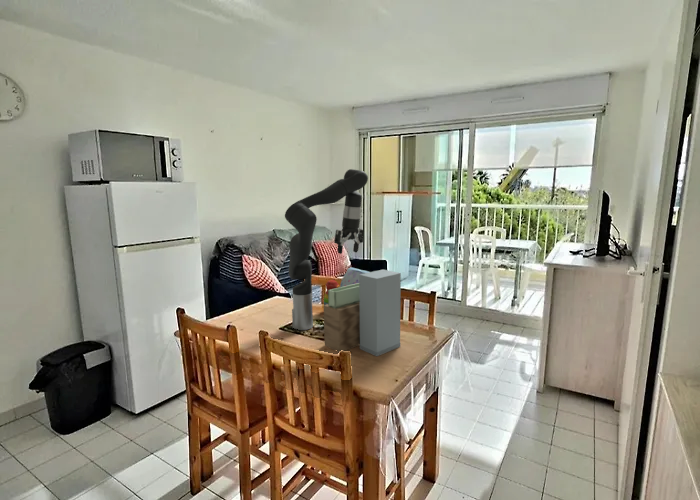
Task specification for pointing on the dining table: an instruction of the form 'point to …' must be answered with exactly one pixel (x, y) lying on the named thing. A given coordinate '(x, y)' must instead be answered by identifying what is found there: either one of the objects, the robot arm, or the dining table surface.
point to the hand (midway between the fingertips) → (347, 252)
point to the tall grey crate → (379, 311)
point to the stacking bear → (330, 285)
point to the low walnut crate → (342, 326)
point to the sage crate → (343, 296)
